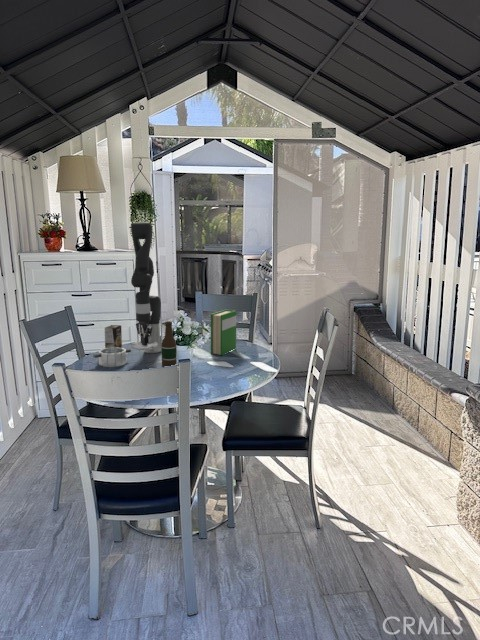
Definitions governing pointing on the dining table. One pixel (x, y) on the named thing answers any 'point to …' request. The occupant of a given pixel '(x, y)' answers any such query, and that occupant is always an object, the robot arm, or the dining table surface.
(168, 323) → the beer bottle
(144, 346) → the lid
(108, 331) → the coffee box
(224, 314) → the hardback book
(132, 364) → the dining table surface
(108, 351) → the pot
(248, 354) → the dining table surface
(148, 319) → the robot arm
